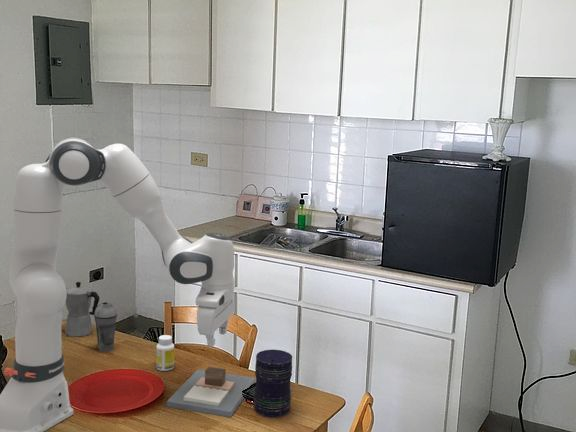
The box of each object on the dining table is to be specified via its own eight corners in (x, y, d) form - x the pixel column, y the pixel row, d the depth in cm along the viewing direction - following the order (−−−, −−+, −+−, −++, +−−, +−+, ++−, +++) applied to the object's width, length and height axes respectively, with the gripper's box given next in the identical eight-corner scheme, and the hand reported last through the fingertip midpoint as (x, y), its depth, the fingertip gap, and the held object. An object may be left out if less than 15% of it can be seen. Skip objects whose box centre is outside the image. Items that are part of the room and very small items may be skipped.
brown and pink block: (228, 392, 178) (229, 375, 177) (195, 387, 180) (195, 370, 179) (234, 385, 183) (235, 368, 182) (201, 380, 185) (202, 364, 184)
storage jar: (256, 398, 179) (258, 347, 176) (292, 402, 178) (294, 351, 175) (250, 416, 169) (252, 362, 166) (288, 419, 168) (290, 365, 165)
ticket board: (230, 417, 168) (230, 407, 167) (166, 406, 172) (166, 397, 171) (255, 382, 189) (255, 374, 188) (197, 374, 193) (197, 365, 192)
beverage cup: (93, 345, 211) (93, 286, 207) (116, 344, 213) (116, 285, 209) (94, 354, 204) (93, 293, 200) (118, 352, 206) (117, 292, 203)
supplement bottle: (176, 364, 199) (176, 334, 197) (171, 372, 193) (171, 341, 192) (159, 363, 199) (159, 333, 197) (153, 370, 194) (154, 339, 192)
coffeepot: (54, 332, 220) (53, 282, 217) (73, 324, 229) (73, 275, 226) (89, 341, 214) (89, 289, 211) (108, 332, 223) (108, 282, 220)
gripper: (219, 280, 187) (219, 325, 190) (193, 301, 168) (192, 351, 170) (240, 282, 186) (239, 328, 188) (215, 303, 166) (215, 354, 169)
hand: (217, 339), depth 179 cm, fingers open, 8 cm apart
